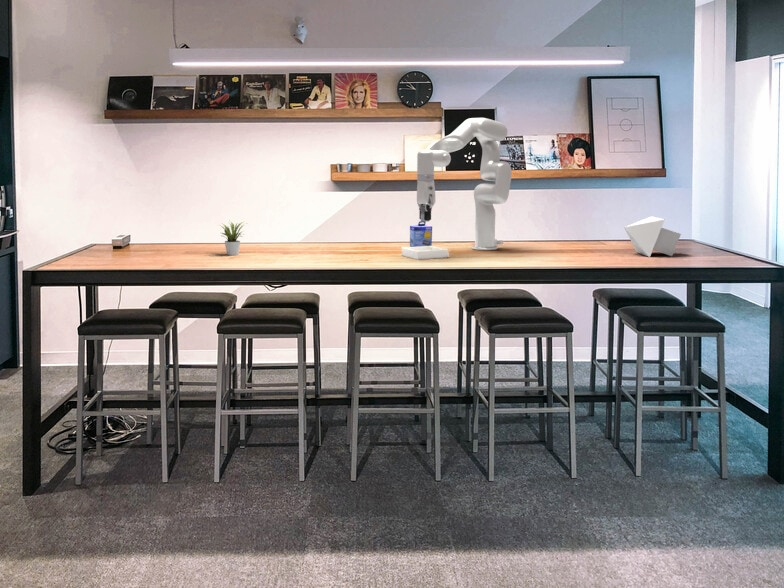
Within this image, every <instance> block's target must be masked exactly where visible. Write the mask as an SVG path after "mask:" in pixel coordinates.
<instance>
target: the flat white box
mask: <svg viewBox="0 0 784 588" xmlns="http://www.w3.org/2000/svg"><path fill="white" fill-rule="evenodd" d="M449 252H450V249H447V248H444V247H440V246H435V245H432V246H421V247H410V246H409V247H408V246H407V247H406V246H405V247H401V256H403V257H406V258H410V259H414V260H416V261H417V260H420V259H421V260H432V259H433V260H434V258H436V259H448V258H447V257H450V255H449V254H450V253H449Z"/></svg>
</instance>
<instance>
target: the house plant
mask: <svg viewBox="0 0 784 588" xmlns="http://www.w3.org/2000/svg"><path fill="white" fill-rule="evenodd" d="M245 224H248V223H247V222H245V223H244V221H242V222H240V223H235V224H234V223H233V222H232V221H230V220H229V225H230V227H229V226H227V225H225V224H224V223H222V225H223V226H222V225H220V224H219V226H221V228H222V229H224V233H223V232H221V234H222V237H224V238H225V239H226V240H224V246H225V251H226V255H227V256H238V255H239V253H240V245H241V240H237V239H238V238H239V237H240V236H241V237H242V238H244V236H242V235H245V234H243V232H244V230H243V231H240V230H241V229H242V228H243V227H244V226H245Z"/></svg>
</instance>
